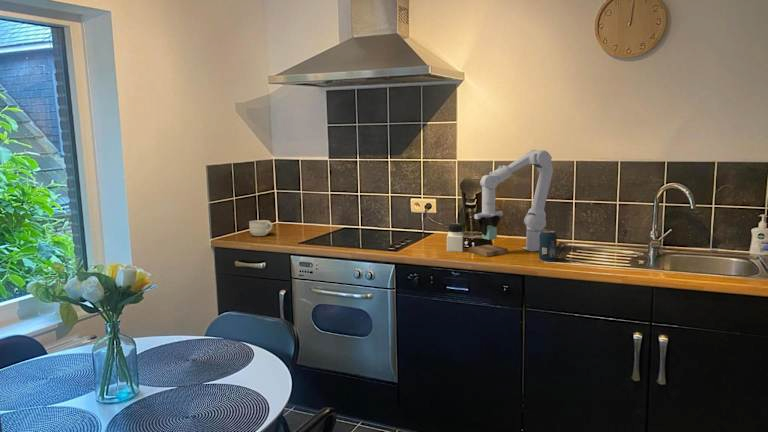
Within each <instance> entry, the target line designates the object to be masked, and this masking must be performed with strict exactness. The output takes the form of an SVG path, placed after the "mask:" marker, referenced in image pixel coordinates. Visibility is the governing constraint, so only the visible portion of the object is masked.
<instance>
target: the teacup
mask: <svg viewBox="0 0 768 432" xmlns="http://www.w3.org/2000/svg"><path fill="white" fill-rule="evenodd" d="M248 225H249V227H248V228H249V232H250V234H251V235H252V236H253V237H266V236H267V235H268V234H269V233H270V232H271V230H272V229H273V228H274V224H273V222H271V221H270V220H265V219H263V220H262V219H260V220H258V219H256V220H250V221H248Z"/></svg>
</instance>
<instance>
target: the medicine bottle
mask: <svg viewBox="0 0 768 432" xmlns="http://www.w3.org/2000/svg"><path fill="white" fill-rule="evenodd" d="M464 249H465V234H464V233H463V225H462V224H461V223H450V224H449V225H448V233H447V236H446V252H447V253H448V252H449V253H463V252H464Z"/></svg>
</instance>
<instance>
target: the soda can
mask: <svg viewBox="0 0 768 432" xmlns="http://www.w3.org/2000/svg"><path fill="white" fill-rule="evenodd" d="M557 245H558V234H557V233H556V230H553V229H552V230H551V229H546V230H542V231H541V233H540V235H539V251H538V257H539V259H540V261H543V262H554V261H556V259H557V255H558V254H557V253H558V252H557V247H558V246H557Z"/></svg>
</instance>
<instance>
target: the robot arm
mask: <svg viewBox="0 0 768 432" xmlns="http://www.w3.org/2000/svg"><path fill="white" fill-rule="evenodd" d="M552 158H553V157H552V155H551V153H549V152H548V151H547V150H539V149H532V150H530V151H528V152H526V153H525V154H523V155H522V156H520V157H518V159H516V160H514V161H513V162H511V163H509V164H508V165H499V166H497V168H496V169H495V170H494V171H490V172H489V174H484V175H483V176H482V177H481V178H480V181H479V185H480V186H481V212H478V213H475V214H474V215H473V216H474V217H473V218H474V219H475V220H476V221H477V223H478V225H479V229H480V233H481V235H482V234H483V235H486V233H487V226H488V223H489V226H493V227H497V228H498V224H499V222H500V220H501V217H503V211H501V210H500V211H496V188H497V187H498V186H499V184H501V183H503V182H504V181H505V180H508V179H509V178H510V177H511V175H512V173H513V172H516V171H518V170H519V169H521V168H522V167H524V166H526V165H533V166H534V167H535V168H536V169H537V171H538V172H539V174H538V179H537V183H536V187H535V191H534V196H533V200H532V205H531V207H530V208H529V209H528V211H527V213H526V215H525V217H524V219H523V224H524V225H525V226H526V235H525V236H526V237H525V241H526V244H525V245H526V246H523V247H522V249H524V250H526V251H529V252H539V235H540V233H541V231H542V230H547V229H546V225H547V220H546V216H547V214H546V211H545V207H546V202H547V198H548V193H549V191H550V186H551V181H552V177H553V174H554V169H553V164H552ZM487 218H488V219H487Z"/></svg>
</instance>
